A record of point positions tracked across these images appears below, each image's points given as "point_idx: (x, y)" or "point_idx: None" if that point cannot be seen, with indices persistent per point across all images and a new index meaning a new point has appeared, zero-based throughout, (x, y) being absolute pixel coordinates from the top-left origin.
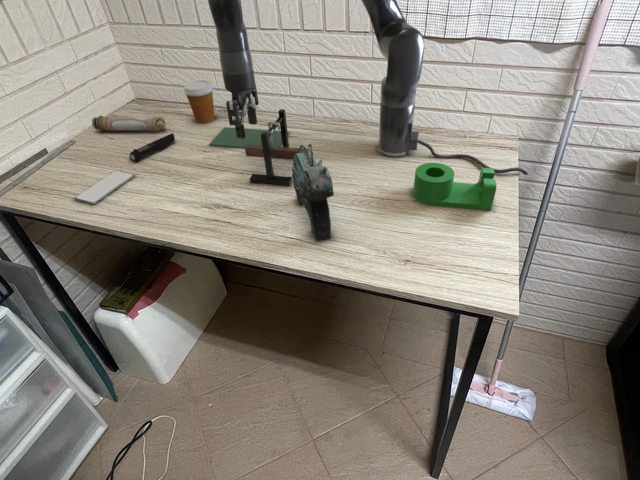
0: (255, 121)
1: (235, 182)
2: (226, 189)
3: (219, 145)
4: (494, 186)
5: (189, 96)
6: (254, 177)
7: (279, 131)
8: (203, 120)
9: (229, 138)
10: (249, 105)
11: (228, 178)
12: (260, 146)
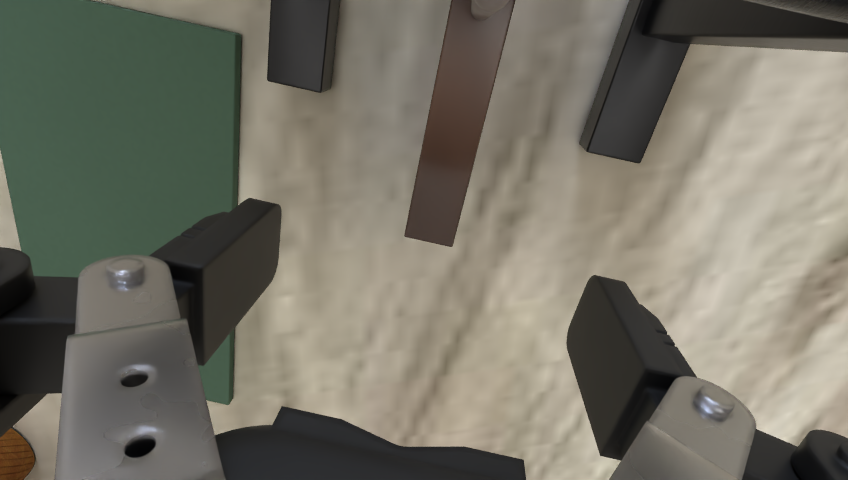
0: (267, 219)
1: (602, 237)
2: (665, 270)
3: (231, 362)
4: None
5: None
6: (638, 134)
7: None
8: (18, 458)
9: None
10: (287, 425)
11: (553, 276)
12: (444, 126)
